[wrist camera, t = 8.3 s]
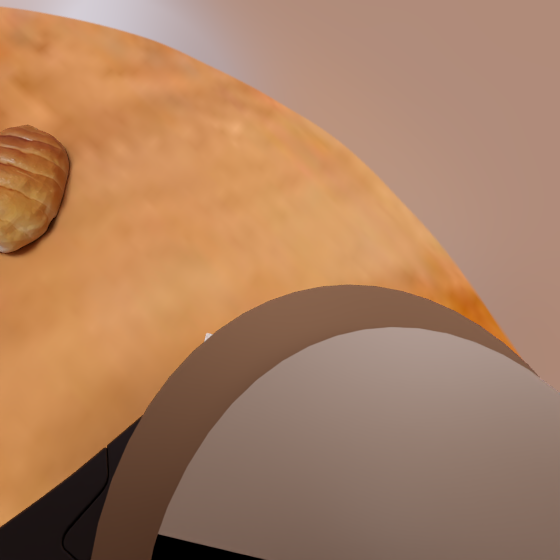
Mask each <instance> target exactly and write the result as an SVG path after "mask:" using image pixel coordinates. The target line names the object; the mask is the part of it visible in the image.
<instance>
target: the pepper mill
mask: <svg viewBox="0 0 560 560" xmlns="http://www.w3.org/2000/svg"><path fill="white" fill-rule="evenodd" d="M91 560H560V393H559V392H558V391H557V390H556V389H555V388H553V387H552V386H550V385H549V384H548V383H546V382H545V381H544V380H542V379H541V378H540V377H539V376H538V375H537V374H536V373H535V372H534V371H533V370H532V369H531V368H530V366H529V365H528V364H527V363H525V362H524V361H523V360H522V359H521V358H520V357H519V356H518V355H517V354H515V353H514V352H513V351H512V350H511V349H510V348H509V347H508V346H506V345H505V344H504V343H503V342H502V341H500V340H499V339H497V338H496V337H495V336H493V335H492V334H491V333H489V332H488V331H486V330H485V329H484V328H482V327H481V326H480V325H478V324H476V323H474V322H473V321H471V320H469V319H468V318H466V317H464V316H462V315H461V314H459V313H457V312H455V311H454V310H451V309H449V308H447V307H445V306H442V305H440V304H438V303H436V302H433V301H431V300H429V299H426V298H423V297H419V296H416V295H413V294H410V293H406V292H403V291H399V290H393V289H388V288H382V287H377V286H362V285H338V286H323V287H317V288H312V289H307V290H303V291H298V292H294V293H291V294H288V295H285V296H282V297H279V298H276V299H273V300H270V301H268V302H266V303H264V304H262V305H260V306H258V307H256V308H254V309H251V310H249V311H247V312H245V313H243V314H242V315H240V316H239V317H237V318H236V319H234V320H233V321H231V322H230V323H228V324H227V325H225V326H224V327H222V328H221V329H219V330H217V331H216V332H215V333H214V334H213V335H212V336H210V337H209V338H208V339H207V340H206V341H205V342H203V343H202V344H201V345H200V346H199V347H198V348H196V349H195V350H194V351H193V352H192V353H191V354H190V355H189V356H188V357H187V359H186V360H185V361H184V362H183V363H182V364H181V365H180V366H179V367H178V368H177V369H176V370H175V372H174V373H173V374H172V375H171V376H170V377H169V378H168V380H167V381H166V383H165V384H164V385H163V387H162V388H161V389H160V391H159V392H158V394H157V395H156V396H155V398H154V399H153V400H152V402H151V403H150V405H149V406H148V408H147V409H146V411H145V413H144V415H143V416H142V418H141V420H140V422H139V423H138V425H137V427H136V429H135V430H134V432H133V434H132V436H131V438H130V439H129V441H128V443H127V446H126V448H125V450H124V453H123V455H122V457H121V460H120V462H119V464H118V467H117V469H116V471H115V474H114V476H113V478H112V481H111V484H110V487H109V490H108V494H107V497H106V500H105V503H104V506H103V510H102V513H101V516H100V519H99V522H98V527H97V532H96V537H95V542H94V547H93V552H92V557H91Z"/></svg>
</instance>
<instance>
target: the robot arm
mask: <svg viewBox="0 0 560 560" xmlns="http://www.w3.org/2000/svg"><path fill="white" fill-rule="evenodd" d="M142 416H143V415H142ZM142 416H141V417H140V418H139V419H138V420H136V421H135V422H134V423H133V424H132V425H131V426H129V427H128V428H127V429H126V430H125V431H123V432H122V433H121V434H120V435H119V436H118V437H116V438H115V439H114V440H113V441H112V442H111V443H109V444H108V445H107V448H103V449H102V450H101V451H100V452H99V453H97V454H96V455H95V456H94V457H93V458H92V459H90V460H89V461H88V462H87V463H85V464H84V465H83V466H82V467H80V468H79V469H78V470H77V471H76V472H74V473H73V474H72V475H71V476H69V477H68V478H67V479H66V480H64V481H63V482H62V483H60V484H59V485H57V486H56V487H55V488H53V489H52V490H51V491H49V492H48V493H47V494H45V495H44V496H43V497H41V498H40V499H39V500H37V501H36V502H35V503H33V504H32V505H30V506H29V507H28V508H26V509H25V510H24V511H22V512H21V513H19V514H18V515H17V516H15V517H14V518H12V519H11V520H10V521H8V522H7V523H6V524H4V525H3V526H1V527H0V560H91V557H92V552H93V547H94V542H95V537H96V532H97V527H98V522H99V519H100V516H101V513H102V510H103V506H104V503H105V500H106V497H107V494H108V490H109V487H110V484H111V481H112V478H113V476H114V474H115V471H116V469H117V467H118V464H119V462H120V460H121V457H122V455H123V453H124V450H125V448H126V446H127V443H128V441H129V439H130V438H131V436H132V434H133V432H134V430H135V429H136V427H137V425H138V423H139V422H140V420H141V418H142Z"/></svg>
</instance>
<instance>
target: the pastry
mask: <svg viewBox="0 0 560 560" xmlns="http://www.w3.org/2000/svg"><path fill="white" fill-rule="evenodd" d="M68 172H69V161H68V156H67V153H66V151H65V149H64V147H63V145H62V144H61V143H60V142H59V141H57V140H56V139H55V138H54V137H53V136H52V135H50V134H48V133H46V132H43V131H40V130H38V129H37V128H35V127H33V126H30V125H23V126H19V127H13V128H8V129H6V130H4V131H2V132H0V252H3V253H9V252H12V251H15V250H18V249H19V248H21V247H23V246H25V245H27V244H29V243H31V242H33V241H35V240H36V239H38V238H39V237H40V236H41V235H43V234H44V233H45V232H46V231H47V227H48V225H49V223H50V222H51V220H52V219H53V218H54V217H56V215H57V212H58V209H59V207H60V205H61V199H62V197H63V195H64V189H65V185H66V182H67V177H68Z"/></svg>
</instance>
